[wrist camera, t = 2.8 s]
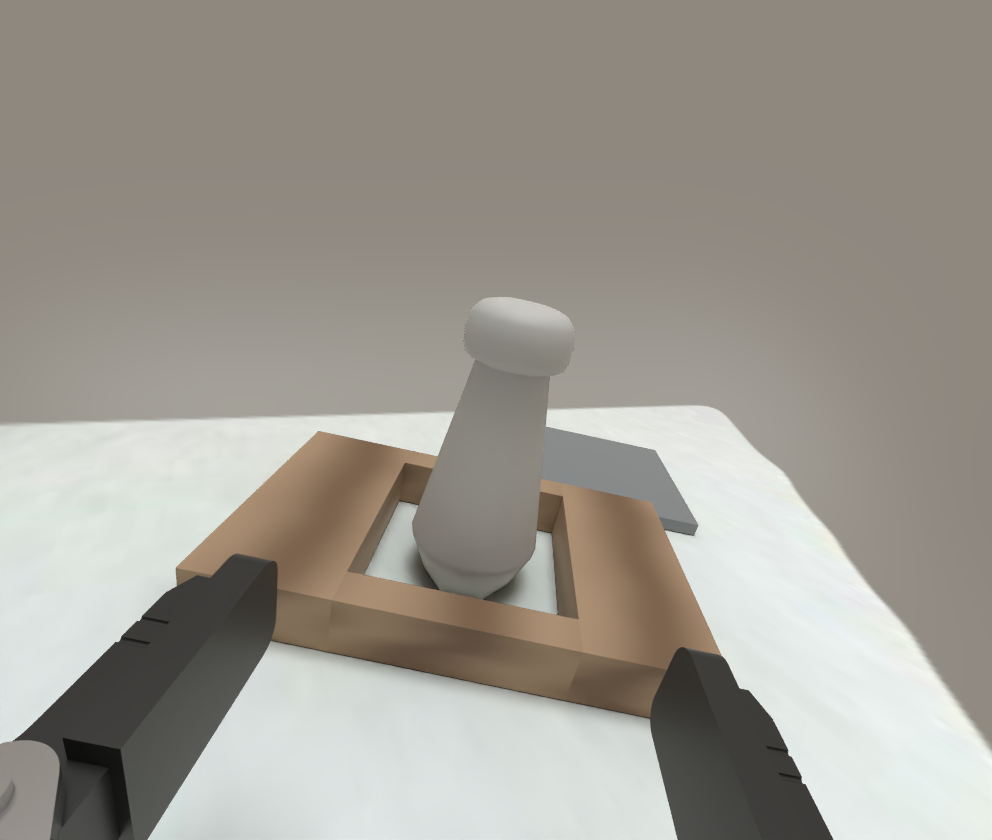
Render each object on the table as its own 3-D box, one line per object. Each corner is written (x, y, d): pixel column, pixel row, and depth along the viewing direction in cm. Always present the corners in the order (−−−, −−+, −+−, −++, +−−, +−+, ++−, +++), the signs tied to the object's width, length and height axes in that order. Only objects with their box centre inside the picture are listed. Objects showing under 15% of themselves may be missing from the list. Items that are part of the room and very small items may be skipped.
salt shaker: (397, 534, 24) (436, 278, 19) (498, 528, 27) (556, 298, 22) (421, 623, 19) (482, 311, 14) (543, 607, 22) (630, 332, 17)
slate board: (511, 496, 30) (514, 485, 30) (515, 429, 40) (517, 420, 40) (694, 535, 30) (698, 525, 30) (652, 458, 40) (655, 450, 40)
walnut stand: (179, 621, 17) (175, 567, 16) (316, 468, 28) (318, 431, 27) (708, 729, 18) (734, 683, 17) (638, 536, 29) (651, 502, 28)
